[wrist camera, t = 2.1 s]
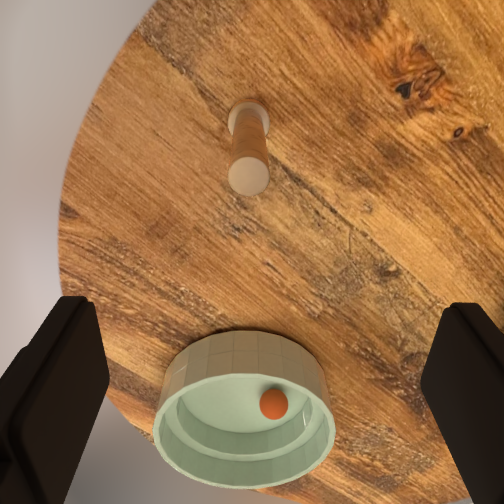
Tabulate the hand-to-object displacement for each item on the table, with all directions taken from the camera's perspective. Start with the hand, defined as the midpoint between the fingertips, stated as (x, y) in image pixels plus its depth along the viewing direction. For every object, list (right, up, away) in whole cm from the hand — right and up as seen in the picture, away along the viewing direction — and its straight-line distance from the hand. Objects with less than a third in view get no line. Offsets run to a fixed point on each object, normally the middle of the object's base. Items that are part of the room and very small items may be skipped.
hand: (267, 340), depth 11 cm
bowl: (-1, -12, +32) cm, 34 cm away
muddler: (-1, +12, +18) cm, 22 cm away
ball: (+2, -13, +31) cm, 33 cm away
